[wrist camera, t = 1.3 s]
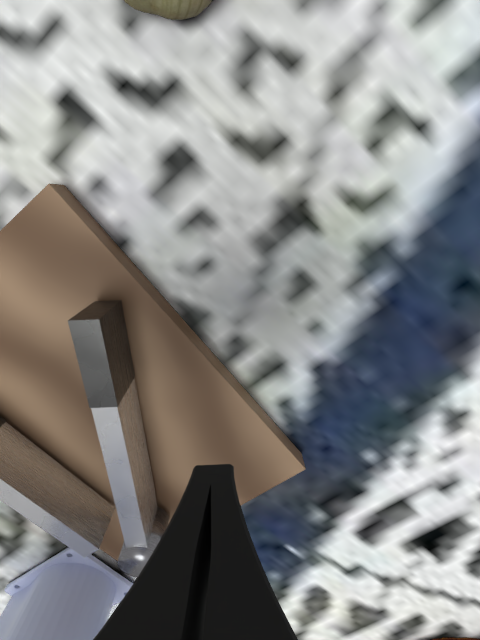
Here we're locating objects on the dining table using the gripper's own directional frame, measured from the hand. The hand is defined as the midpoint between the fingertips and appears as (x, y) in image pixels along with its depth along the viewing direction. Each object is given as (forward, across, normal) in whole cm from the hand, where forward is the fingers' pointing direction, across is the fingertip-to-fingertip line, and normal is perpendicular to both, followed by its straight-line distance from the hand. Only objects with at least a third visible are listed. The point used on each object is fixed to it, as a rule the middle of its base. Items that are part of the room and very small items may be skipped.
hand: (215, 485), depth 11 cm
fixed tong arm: (+9, +14, +6) cm, 17 cm away
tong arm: (+9, +6, +5) cm, 12 cm away
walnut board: (+10, +9, +4) cm, 14 cm away
